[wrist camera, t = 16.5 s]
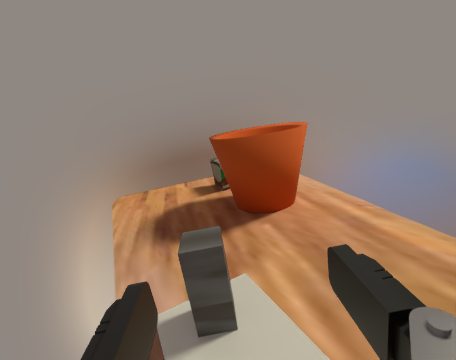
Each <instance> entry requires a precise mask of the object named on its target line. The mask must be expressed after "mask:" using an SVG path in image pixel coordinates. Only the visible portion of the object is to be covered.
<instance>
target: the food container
mask: <svg viewBox="0 0 456 360" xmlns="http://www.w3.org/2000/svg"><path fill="white" fill-rule="evenodd" d="M210 163H211V166H212V171H213V176H214V181H215V185H216V186H218V187H219V188H220V189H221V190H223V191H224V190H227V189H230V187H229V184H228V182H227V179H226V177H225V175H224V172H223V170H222V168H221V165H220V163H219V160H218V158H212V159H210Z"/></svg>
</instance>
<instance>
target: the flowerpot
mask: <svg viewBox="0 0 456 360" xmlns="http://www.w3.org/2000/svg"><path fill="white" fill-rule="evenodd" d="M306 128H307V123H306V122H293V123H281V124H273V125H265V126H258V127H252V128H246V129H240V130H235V131H231V132H226V133H222V134H218V135H214V136H212V137H210V138H209V139H210V141H211V144H212V146H213V148H214V151H215V153H216V155H217V158H218V160H219V163H220V165H221V168H222V170H223V172H224V175H225V177H226V179H227V182H228V184H229V187H230V189H231V191H232V194H233V196H234V199H235V201H236V203H237V206H238V207H239V209H241V210H243V211H246V212H250V213H269V212H275V211H279V210H282V209H285V208H287V207H289V206H291V205H292V204H293V203H294V202H295V197H296V191H297V185H298V179H299V172H300V166H301V160H302V153H303V147H304V141H305V135H306Z"/></svg>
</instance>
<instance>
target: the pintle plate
mask: <svg viewBox="0 0 456 360" xmlns="http://www.w3.org/2000/svg"><path fill="white" fill-rule="evenodd" d="M230 282H231V288H232V293H233V299H234V305H235V312H236V320H237V327H238V330H233V331H228V332H223V333H218V334H213V335H208V336H203V337H198V334H197V330H196V326H195V322H194V318H193V314H192V310H191V306H190V302H189V300H188V301H186V302H183V303H181V304H179V305H177V306H175V307H173V308H171V309H169V310H167V311H165V312H162V313H160V314H158V323H157V330H158V335H159V339H160V343H161V347H162V351H163V355H164V359H165V360H330V359H329V358H328V357H327V356H326V355H325V354H324V353H323V352H322V351H321V350H320V349H319V348H318V347H317V346H316V345H315V344H314V343H313V342H312V341H311V340H310V339H309V338H308V337H307V336H306V335H305V334H304V333H303V332H302V331H301V330H300V329H299V327H298V326H297V325H296V324H295V323H294V322H293V321H292V320H291V319H290V318H289V317H288V316H287V315H286V314H285V313H284V312H283V311H282V310H281V309H280V308H279V307H278V306H277V305H276V304H275V303H274V302H273V301H272V300H271V299H270V298H269V297H268V296H267V295H266V294H265V293H264V292H263V290H262V289H261V288H260V287H259V286H258V285H257V284H256V283H255V282H254V281H253V280H252V279H251V278H250V277H249V276H248V275H247V274H246V273H244V274H242V275H240V276H238V277H236V278H234V279H232V280H230Z"/></svg>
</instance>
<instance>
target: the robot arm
mask: <svg viewBox="0 0 456 360" xmlns="http://www.w3.org/2000/svg"><path fill="white" fill-rule="evenodd" d="M328 269H329V280H330V284H331V286H332V289H333V291H334V292H335V294H336V295H337V297H338V298H339V300H340V301H341V303H342V304H343V305H344V307H345V308H346V310H347V311H348V313H349V314H350V316H351V317H352V319H353V320H354V322H355V323H356V324H357V326H358V327H359V329H360V330H361V332H362V333H363V335H364V336H365V338H366V339H367V341H368V342H369V343H370V345H371V346H372V348H373V349H374V351H375V352H376V354H377V355H378V357H379V358H380V360H456V317H454V316H453V315H451V314H449V313H447V312H445V311H442V310H439V309H436V308H431V307H426V306H425V305H424V304H423V303H422V302H421V301H420V300H419V299H417V298H416V297H415V296H414V295H413V294H412V293H411V292H410V291H409V290H408V289H406V288H405V287H404V286H403V285H402V284H401V283H400V282H399V281H398V280H397V279H395V278H393V276H392V275H391V274H390V273H389V272H388V271H387V270H386V271H385V269H384V268H383V267H382V266H381V265H380V264H379V263H378V262H377V261H376V260H374V259H372V258H370V257H368V256H366V255H364V254H358V255H357V254H356V253H355V252H354V251H353V250H352V249H351V248H350V247H349V246H348V245H346V244H345V245H340V246H334V247H329V248H328ZM157 323H158V313H157V308H156V305H155V302H154V299H153V296H152V292H151V289H150V286H149V284H148V282H141V283H136V284H131V285H128V286H127V288H126V290H125V292H124V294H123V296H122V298H121V299H119V300H116V301H115V302H114V303H113V304H112V305H111V306H110V307H109V308H108V309H107V311H106V312H105V314H104V316H103V318H102V320H101V322H100V325H99V326H98V328H97V329H96V331H95V335H94V336H93V337H92V339H91V341H90V343H89V345H88V347H87V348H86V350H85V352H84V354H83V356H82V358H81V360H149V356H150V352H151V348H152V344H153V340H154V336H155V332H156V328H157Z"/></svg>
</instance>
